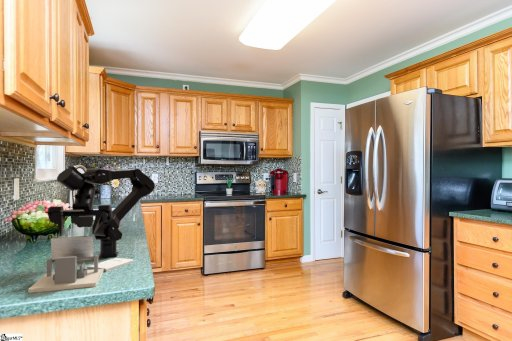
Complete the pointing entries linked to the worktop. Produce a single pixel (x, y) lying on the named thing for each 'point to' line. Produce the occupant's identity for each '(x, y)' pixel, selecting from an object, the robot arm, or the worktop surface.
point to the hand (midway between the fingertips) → (77, 234)
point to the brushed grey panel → (72, 247)
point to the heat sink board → (78, 284)
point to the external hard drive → (112, 264)
